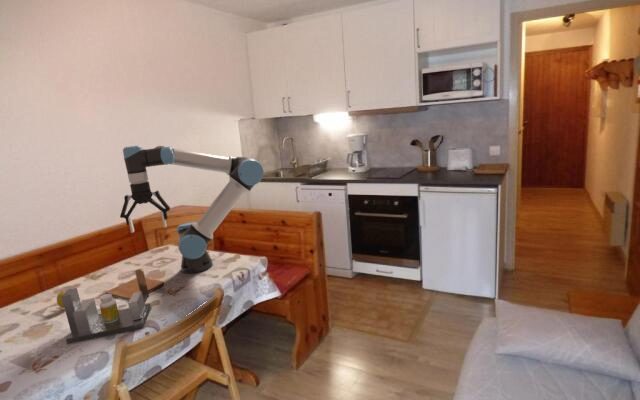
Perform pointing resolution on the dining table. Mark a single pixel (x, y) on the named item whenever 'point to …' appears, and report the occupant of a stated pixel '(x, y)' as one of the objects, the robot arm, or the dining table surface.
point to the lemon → (60, 299)
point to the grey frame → (96, 319)
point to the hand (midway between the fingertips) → (149, 229)
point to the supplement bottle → (109, 309)
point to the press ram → (138, 297)
